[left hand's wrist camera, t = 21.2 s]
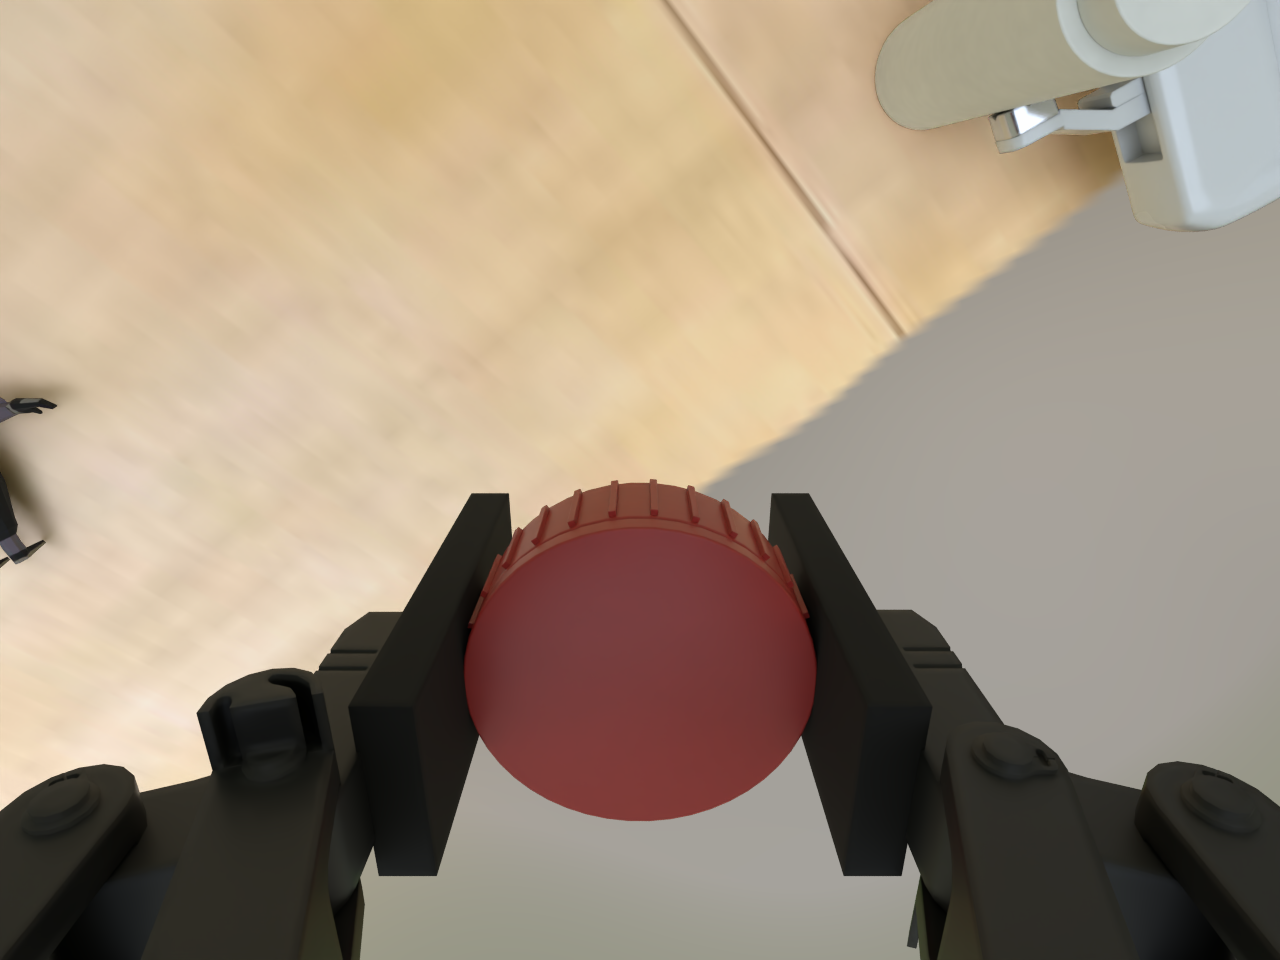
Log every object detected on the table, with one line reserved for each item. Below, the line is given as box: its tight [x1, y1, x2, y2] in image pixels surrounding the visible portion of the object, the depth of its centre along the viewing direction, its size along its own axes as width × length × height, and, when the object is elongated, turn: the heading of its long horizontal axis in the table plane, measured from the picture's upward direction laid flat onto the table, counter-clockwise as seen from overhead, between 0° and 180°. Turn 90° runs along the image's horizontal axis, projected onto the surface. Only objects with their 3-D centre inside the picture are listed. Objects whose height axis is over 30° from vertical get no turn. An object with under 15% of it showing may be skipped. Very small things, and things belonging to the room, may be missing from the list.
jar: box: [875, 0, 1250, 130], centre depth 25 cm, size 5×5×17 cm
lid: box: [464, 479, 817, 821], centre depth 12 cm, size 6×6×2 cm
